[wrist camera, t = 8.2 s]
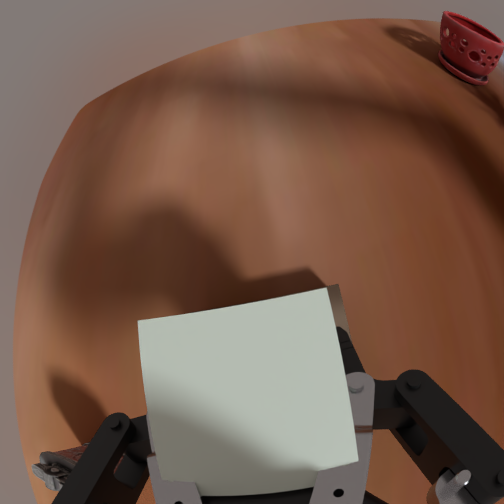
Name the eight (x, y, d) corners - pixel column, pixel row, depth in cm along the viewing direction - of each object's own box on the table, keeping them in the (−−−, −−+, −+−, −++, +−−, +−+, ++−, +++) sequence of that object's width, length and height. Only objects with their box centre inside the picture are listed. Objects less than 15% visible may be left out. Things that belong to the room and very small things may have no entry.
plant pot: (497, 89, 33) (514, 47, 22) (467, 93, 33) (486, 42, 22) (455, 53, 38) (466, 12, 27) (420, 53, 38) (430, 5, 27)
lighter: (87, 462, 20) (23, 479, 11) (85, 436, 22) (18, 447, 12) (149, 484, 19) (91, 520, 10) (147, 456, 21) (85, 486, 11)
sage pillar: (225, 347, 17) (137, 320, 7) (305, 333, 17) (326, 287, 7) (238, 423, 15) (165, 493, 5) (319, 410, 15) (360, 475, 5)
